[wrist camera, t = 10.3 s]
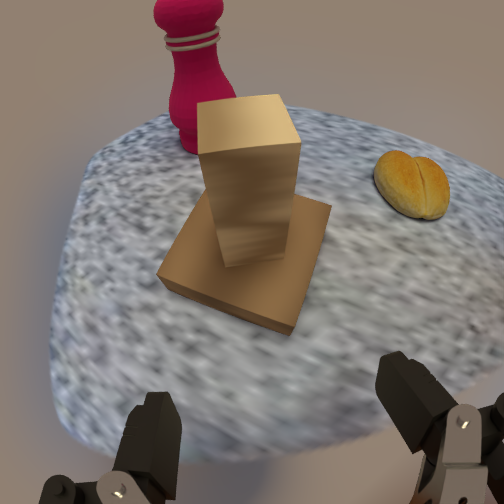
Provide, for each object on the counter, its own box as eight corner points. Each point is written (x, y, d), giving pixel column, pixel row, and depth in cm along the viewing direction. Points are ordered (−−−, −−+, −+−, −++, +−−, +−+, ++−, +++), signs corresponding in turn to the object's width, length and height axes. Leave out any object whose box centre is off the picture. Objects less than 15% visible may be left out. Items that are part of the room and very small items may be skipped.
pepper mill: (252, 136, 30) (247, -36, 12) (202, 168, 27) (166, -27, 10) (213, 114, 32) (194, -32, 15) (166, 141, 30) (126, -16, 12)
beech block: (272, 211, 21) (278, 94, 12) (283, 258, 19) (301, 142, 10) (219, 219, 21) (197, 103, 12) (225, 267, 19) (197, 154, 10)
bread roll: (367, 158, 28) (377, 131, 25) (432, 174, 27) (445, 151, 24) (375, 215, 24) (390, 188, 21) (448, 230, 24) (467, 207, 20)
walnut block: (324, 226, 24) (331, 205, 21) (289, 336, 19) (294, 326, 17) (219, 195, 26) (215, 173, 23) (168, 289, 21) (156, 274, 19)
